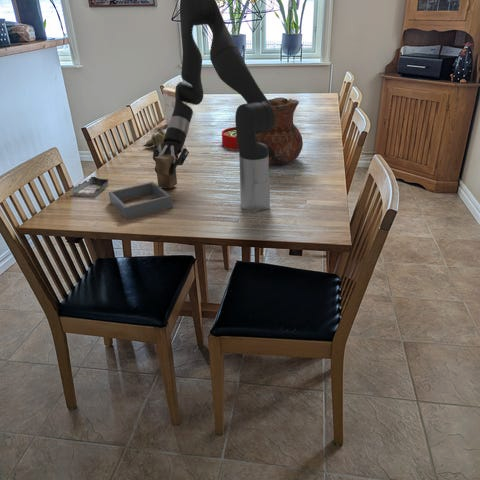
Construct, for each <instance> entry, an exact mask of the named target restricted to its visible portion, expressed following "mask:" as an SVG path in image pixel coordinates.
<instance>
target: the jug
mask: <svg viewBox="0 0 480 480" xmlns="http://www.w3.org/2000/svg"><path fill="white" fill-rule="evenodd" d="M267 100H268V101H269V103H270V105H271V107H272V109H273V111H274V114H275V125H274V127H273V129H272V130H270V131H267V132H263V133H259V134H255V137H256V142H259V143H263V144H265V145H267V146H268V148H269V166H273V167H282V166H286V165H289V164H291V163H293V162H294V161H295V160H296V159H298V158H299V156H300V154H301V152H302V150H303V145H304V144H303V141H304V140H303V136H302V134H301V131H300V130H299V129H298V128H297V126H296V124H294V115H295V114H294V113H295V111H296V110H297V108H298V105H299V103H300V101H299V100H297V99H292V98H289V99H287V98H285V97H280V96H279V97H275V98H272V99H271V98H270V99H268V98H267Z"/></svg>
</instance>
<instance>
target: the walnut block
mask: <svg viewBox="0 0 480 480" xmlns="http://www.w3.org/2000/svg"><path fill="white" fill-rule="evenodd" d="M172 159H173V156H171V155H170V154H163V155H159V156H157V157H155V161H154V162H155V163H154V164H155V166H156V171H157V173H156V178H157V186H159V187H160V188H162V189H163V188H164V189H171V188H173V187H175V186H176V185H177V184H178V178H177V170H175V173H174V174H173V175H170V174H169V169H170V166H171V164H172Z"/></svg>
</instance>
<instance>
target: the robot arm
mask: <svg viewBox="0 0 480 480" xmlns="http://www.w3.org/2000/svg"><path fill="white" fill-rule="evenodd" d="M179 23H180V38H181V46H182V48H181V49H182V58H181V59H182V61H181V73H180V74H181V78H182V80H183V81H179V82H178V83H177V84H176V87H175V88H176V90H175V107H174V111H173V114H172V117H171V120H170V122H169V124H168V125H167V127H166V128H167V130H166V133H165V136H164V142H163V144H162V145H161V146H157V145H155V146H154V145H153V151H152V153H153V154H152V160H153V161H154V162H155V157H157V156H159V155H163V154H170V155H171V156H173V159H172V164H171V166H170V169H169V174H170V175H173V174H174V173H175V170H176V169H177V167H178V166H183V165H184V163H185V161H186V159H187V157H188V155H189V154H190V151H189V150H188V149H187V148H186V147H184V146H185V142H186V139H187V135H188V133H189V128H190V125H191V120H192V118H193V117H192V116H193V114H194V111H193V108H192V107H190V106H189V105H188V104H191V105H195V106H197V105H200V104H201V103H202V102H203V101H204V88H203V84H202V83H203V82H202V68H203V56H202V53H201V51H200V48H199V46H198V45H197V43H196V41H195V38H194V35H193V34H194V33H193V30H194V27H195V26H203V25H207V26H208V27H209V30H210V31H211V34H212V41H211V44H210V50H209V51H210V52H209V59H210V63H211V65H212V66H213V68H214V70H215V73H216V74H217V77H218V78H219V79H220V80H221V81H222V82H223V83H224V84H226V86H228V88H230V89H232V90H234V91H235V92H237V93H238V94H239V95H240V96H241V98H243V99H244V101H245V102H246V103H244V104H239V106H238V107H237V108H236V112H235V116H234V117H235V118H234V120H235V121H234V122H235V127H236V134H237V145H238V149H239V150H238V155H239V158H238V159H239V190H240V191H239V193H240V207H241V209H243V210H245V211H251V212H254V213H256V212H259V211H263V210H266V209H269V208H271V181H270V180H269V172H270V171H269V170H270V169H269V166H270V165H269V148H268V146H267V145H265V144H263V143H259V142H256V137H255V134H259V133H263V132H267V131H270V130H272V129H273V127H274V125H275V114H274V111H273V109H272V107H271V105H270V103H269V101H268V100H269V99H268V98H267V97H266V95H265V94H264V93H263V91H262V90H261V88H260V87H259V85H258V84H257V82H256V80H255V79H254V76H253V75H252V73H251V71H250V69H249V68H248V66H247V64H246V62H245V60H244V58H243V55H242V53H241V52H240V49H239V48H238V46H237V45H236V42H235V41H234V40H233V37H232V35H231V33H230V32H229V31H230V30H229V29H228V27H227V25H226V22H225V20H224V18H223V15H222V13H221V9H220V8H219V5H218V3H217V0H180V1H179ZM267 99H268V100H267ZM183 102H186V103H187V105H186V104H184V103H183ZM176 171H177V170H176ZM154 172H155V173H156V174H157V171H156V165H155V167H154Z"/></svg>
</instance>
